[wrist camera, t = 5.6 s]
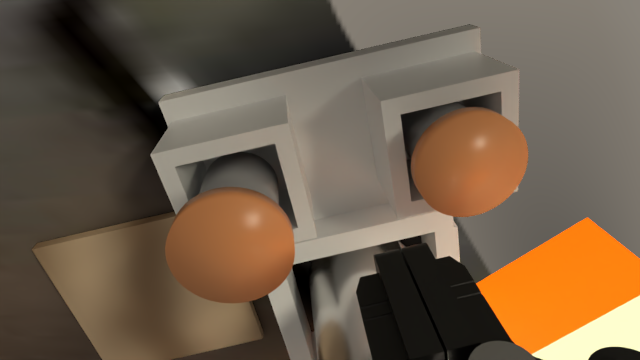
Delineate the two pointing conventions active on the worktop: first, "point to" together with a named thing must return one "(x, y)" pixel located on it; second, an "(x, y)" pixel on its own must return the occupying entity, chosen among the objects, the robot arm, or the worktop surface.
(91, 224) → the worktop surface
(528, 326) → the orange juice
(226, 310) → the mat
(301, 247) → the housing
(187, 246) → the plunger
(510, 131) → the plunger
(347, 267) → the silver metal cylinder
